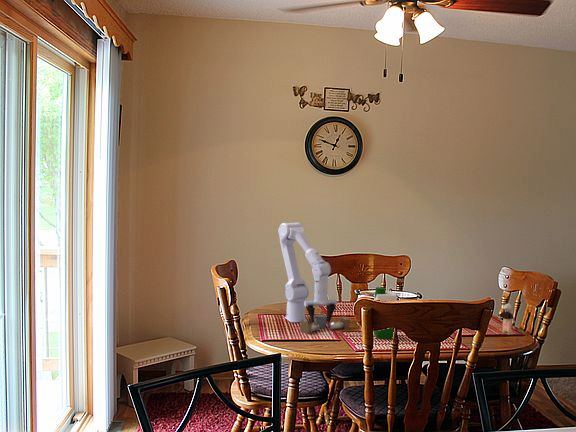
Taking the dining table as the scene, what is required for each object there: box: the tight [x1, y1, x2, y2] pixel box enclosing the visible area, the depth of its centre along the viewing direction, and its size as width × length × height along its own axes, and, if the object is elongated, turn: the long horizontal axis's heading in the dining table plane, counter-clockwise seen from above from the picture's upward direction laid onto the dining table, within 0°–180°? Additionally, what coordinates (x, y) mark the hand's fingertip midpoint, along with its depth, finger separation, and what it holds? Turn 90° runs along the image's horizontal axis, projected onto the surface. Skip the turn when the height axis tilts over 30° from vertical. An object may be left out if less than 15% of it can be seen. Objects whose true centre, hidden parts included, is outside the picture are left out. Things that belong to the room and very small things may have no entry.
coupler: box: [313, 313, 327, 329], centre depth 250 cm, size 4×4×5 cm
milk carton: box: [373, 286, 398, 340], centre depth 237 cm, size 9×9×20 cm
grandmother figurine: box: [498, 303, 516, 335], centre depth 247 cm, size 8×4×13 cm, turn 46°
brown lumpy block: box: [299, 321, 321, 335], centre depth 243 cm, size 8×5×4 cm, turn 129°
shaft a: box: [328, 316, 350, 331], centre depth 248 cm, size 8×5×4 cm, turn 109°
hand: (320, 322), depth 250 cm, fingers open, 7 cm apart
